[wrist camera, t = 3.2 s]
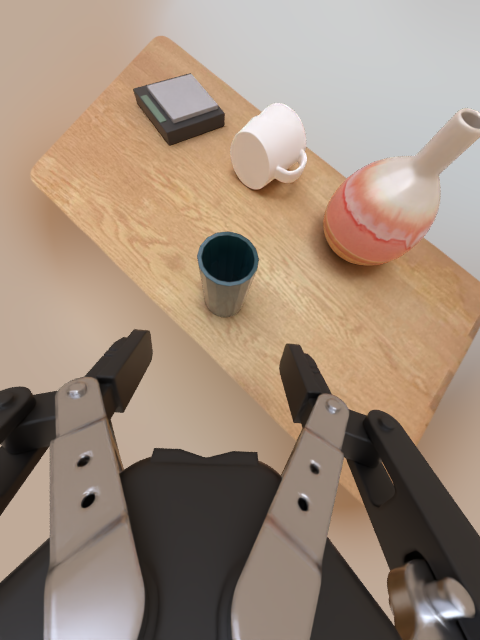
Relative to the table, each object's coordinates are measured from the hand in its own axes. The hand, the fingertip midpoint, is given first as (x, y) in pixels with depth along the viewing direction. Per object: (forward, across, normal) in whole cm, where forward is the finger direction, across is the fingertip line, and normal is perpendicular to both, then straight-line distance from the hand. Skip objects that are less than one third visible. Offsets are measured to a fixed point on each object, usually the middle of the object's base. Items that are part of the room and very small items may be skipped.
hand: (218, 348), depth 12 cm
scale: (+44, +12, -21) cm, 50 cm away
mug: (+36, -6, -13) cm, 38 cm away
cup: (+18, 0, +5) cm, 18 cm away
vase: (+27, -21, -4) cm, 34 cm away
